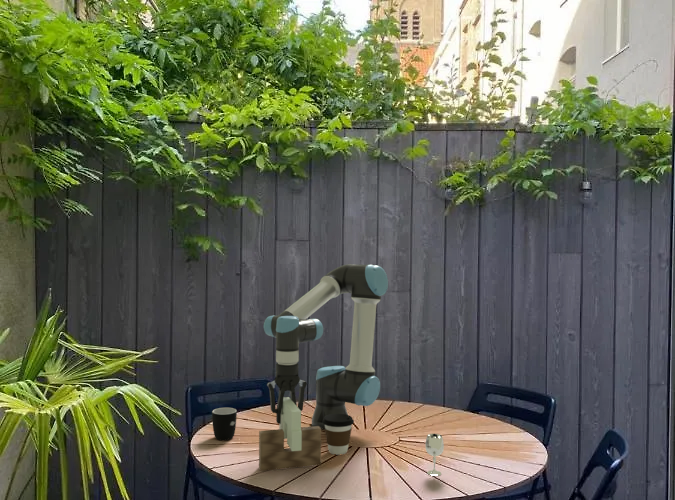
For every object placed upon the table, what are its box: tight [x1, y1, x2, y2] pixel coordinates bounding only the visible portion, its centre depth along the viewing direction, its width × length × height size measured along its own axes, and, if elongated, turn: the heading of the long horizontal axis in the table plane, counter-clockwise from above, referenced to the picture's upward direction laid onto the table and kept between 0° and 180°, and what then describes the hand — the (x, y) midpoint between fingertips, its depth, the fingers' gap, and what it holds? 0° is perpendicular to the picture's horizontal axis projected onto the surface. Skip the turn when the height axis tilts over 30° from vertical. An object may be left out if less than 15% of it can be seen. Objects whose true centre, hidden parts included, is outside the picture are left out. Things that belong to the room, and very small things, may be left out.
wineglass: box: [424, 433, 445, 477], centre depth 195 cm, size 6×6×12 cm
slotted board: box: [258, 426, 322, 472], centre depth 200 cm, size 20×3×12 cm, turn 106°
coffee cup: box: [323, 414, 355, 456], centre depth 214 cm, size 11×11×12 cm
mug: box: [211, 407, 238, 441], centre depth 229 cm, size 12×9×10 cm
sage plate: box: [281, 396, 302, 451], centre depth 199 cm, size 3×20×12 cm, turn 16°
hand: (286, 432), depth 205 cm, fingers closed on sage plate, 3 cm apart
